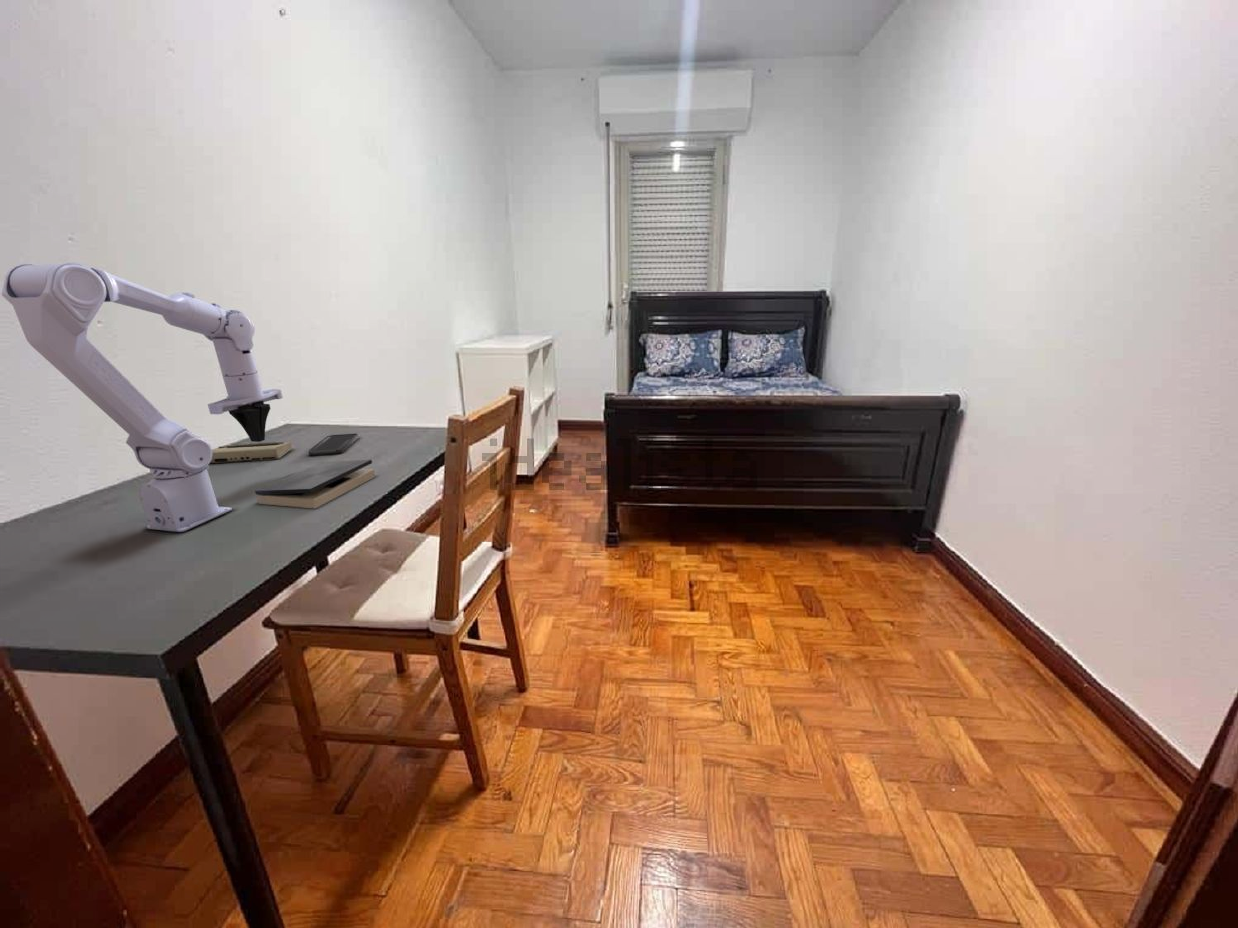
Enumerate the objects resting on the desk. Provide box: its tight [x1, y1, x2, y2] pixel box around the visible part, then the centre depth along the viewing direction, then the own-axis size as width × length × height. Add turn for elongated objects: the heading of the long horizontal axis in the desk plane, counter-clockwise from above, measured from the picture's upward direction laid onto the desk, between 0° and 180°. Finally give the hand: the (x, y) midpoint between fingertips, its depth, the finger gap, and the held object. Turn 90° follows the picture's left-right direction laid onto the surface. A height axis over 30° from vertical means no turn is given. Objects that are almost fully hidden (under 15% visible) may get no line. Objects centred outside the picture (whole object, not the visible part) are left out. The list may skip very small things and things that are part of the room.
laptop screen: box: [254, 459, 373, 495], centre depth 105 cm, size 13×17×1 cm
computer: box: [209, 441, 293, 464], centre depth 127 cm, size 16×8×3 cm, turn 99°
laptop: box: [255, 468, 376, 510], centre depth 105 cm, size 13×17×2 cm
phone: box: [308, 433, 359, 457], centre depth 134 cm, size 8×1×15 cm
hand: (258, 440), depth 105 cm, fingers closed
